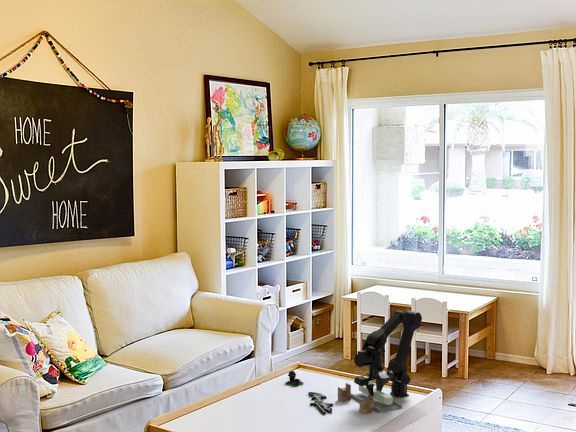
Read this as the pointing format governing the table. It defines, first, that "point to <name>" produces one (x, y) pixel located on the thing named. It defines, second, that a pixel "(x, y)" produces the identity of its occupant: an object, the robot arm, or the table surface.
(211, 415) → the table surface
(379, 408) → the track
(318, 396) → the nameplate
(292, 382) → the toy figurine
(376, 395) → the rail
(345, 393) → the hook post
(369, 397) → the hook post
